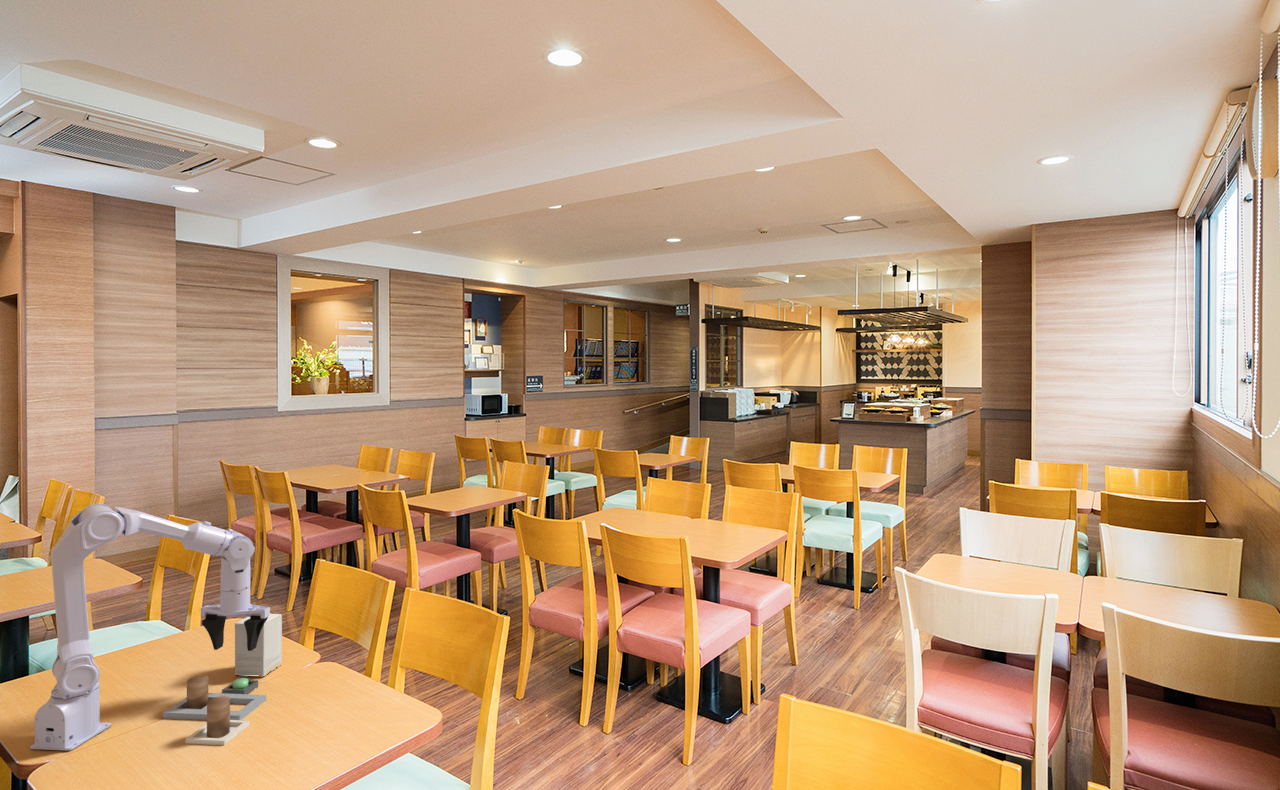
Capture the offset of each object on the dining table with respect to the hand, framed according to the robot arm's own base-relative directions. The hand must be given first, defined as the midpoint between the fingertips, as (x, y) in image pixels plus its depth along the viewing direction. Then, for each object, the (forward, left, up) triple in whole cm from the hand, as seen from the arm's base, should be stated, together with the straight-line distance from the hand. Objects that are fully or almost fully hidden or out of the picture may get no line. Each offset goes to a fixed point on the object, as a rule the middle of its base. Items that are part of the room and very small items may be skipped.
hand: (235, 648), depth 150 cm
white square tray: (-18, -9, -10) cm, 22 cm away
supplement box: (+11, +1, -10) cm, 15 cm away
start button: (-1, -2, -10) cm, 10 cm away
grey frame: (-9, -2, -10) cm, 13 cm away
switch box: (-1, -2, -10) cm, 10 cm away
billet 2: (-18, -9, -9) cm, 22 cm away
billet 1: (-9, +2, -10) cm, 13 cm away
